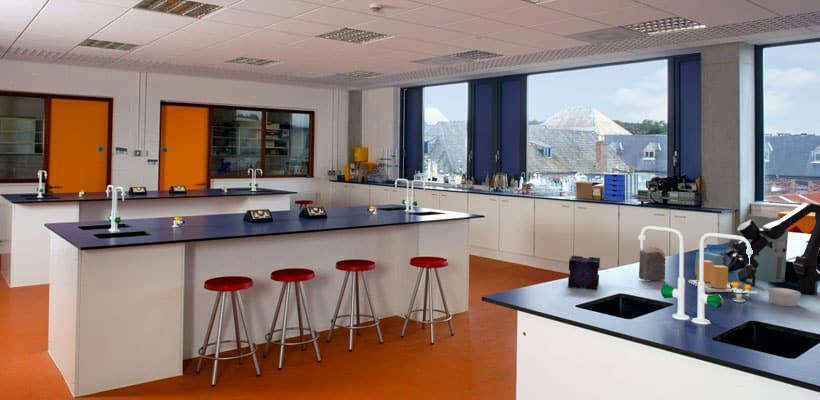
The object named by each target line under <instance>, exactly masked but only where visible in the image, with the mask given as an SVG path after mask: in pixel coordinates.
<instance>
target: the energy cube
mask: <svg viewBox="0 0 820 400" xmlns="http://www.w3.org/2000/svg"><path fill="white" fill-rule="evenodd" d="M600 264H601V258H600V257H593V256H592V257H591V256H589V257H583V256H581V255H571V256H570V258H569V262H568V271H569V276H568V279H567V288H571V289H573V288H574V289H579V288H584V289H586V290H590V291H598V287H599V283H600V280H599V279H600V275H599V269H600V268H601V267H600Z"/></svg>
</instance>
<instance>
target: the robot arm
mask: <svg viewBox="0 0 820 400" xmlns="http://www.w3.org/2000/svg"><path fill="white" fill-rule="evenodd" d="M811 213H814V219H815V224H814V225H813V226H814V227H813V230H812V231H811V235H810V237H809V239H808V242H807V244H806V247H805V250H804V252H803V254H801V255H796V257H795V261H794V262H793V263H792V265H793V270H794V272H795V273H796V277H797V278H798V281H797V284H796V285H797V286H796V291H798V292H800V293H801V294H804V295H810V296H815V295H817V294H819V293H820V292H818V285H819V282H820V273H819V272H818V271H817V269H818V259H817V257H818V254H819V253H820V204H817V203H816V204H815V203H813V202H802V203H801V205H798V207H797V208H795V209H793V210H792V211H791V212H789V213H787V214H785V216H783V217H780V220H778V221H775V222H771V223H769V224H767V225H764V226H763V227H760V228H758V227H757V226H756V225H755V223H754V222H753V221H752V220H749V221H748V220H746V221H745V222H743V223H740V224H739V225H738V227H737V231H739V233H740V234H741V235H742V236H743V237H744V238H745V240H746V239H747V240H749V239H750V240H751V241H750V242H749V243H750V245H751V248H752V250H753V254H752V255H751V257H750V265H751V268H752V269H756V268H758V267H759V263H758V262H757V261H756V260H755V259H754V257H755V256H759V252H760V251H761V250H763V249H764V248H765V247H769V248H772V242H771V241H768V240H767V239H766V238H769V239H774V240H776V239H779V238H780V237H781V236H782V235H783V234H784V233H785V232H786V230H787V229H788V230H789V228H790V227H791V226H793V225H794V224H796V223H798V222H799V221H801V220H802V219H804V218H805V217H807V216H808V215H809V214H811ZM760 234H762V235H763V236H764V237H762V236H761V235H760ZM765 237H766V238H765ZM727 247H729V248H727V249H726V250H725V254H726V257H728V258H729V259H730V260H729V263H728V265H727V267H728V274H729V273H732V272H735V271H738V270H739V271H740V270H741V269H743V268H747V265H748V264H749V258H748V255H747V254H746V249H747V246H746V242H745V241H743V240H740V241H737V240H734V239H730V240H729V242H728V244H727ZM731 248H732V249H731Z"/></svg>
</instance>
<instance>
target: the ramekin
mask: <svg viewBox="0 0 820 400" xmlns="http://www.w3.org/2000/svg"><path fill="white" fill-rule="evenodd" d="M767 292H768V301H769V302H770V304H772V305H776V306H782V307H795V306H798V305H799V304H798V303H799V300H800V297H801V294H802V293H800V292H798V290H794V289H790V288H783V287H769V288H768V289H767Z"/></svg>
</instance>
